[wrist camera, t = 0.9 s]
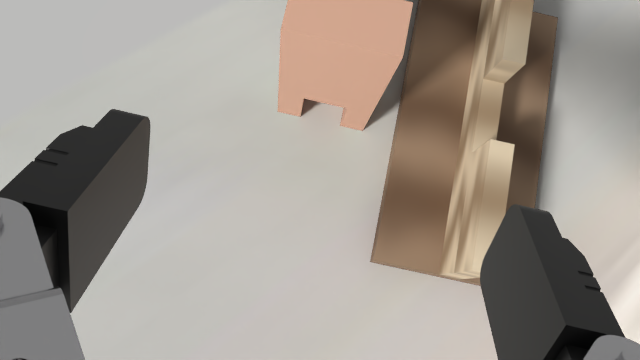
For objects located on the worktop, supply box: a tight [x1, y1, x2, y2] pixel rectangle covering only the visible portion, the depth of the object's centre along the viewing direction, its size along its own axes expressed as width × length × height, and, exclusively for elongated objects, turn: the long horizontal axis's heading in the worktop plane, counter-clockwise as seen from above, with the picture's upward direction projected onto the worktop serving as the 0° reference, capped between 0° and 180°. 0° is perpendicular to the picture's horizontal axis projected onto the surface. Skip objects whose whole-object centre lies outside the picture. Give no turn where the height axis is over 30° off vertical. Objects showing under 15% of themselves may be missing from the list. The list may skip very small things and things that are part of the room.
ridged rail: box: [370, 0, 558, 286], centre depth 35 cm, size 20×10×7 cm, turn 168°
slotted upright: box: [278, 0, 413, 131], centre depth 33 cm, size 3×6×12 cm, turn 78°
